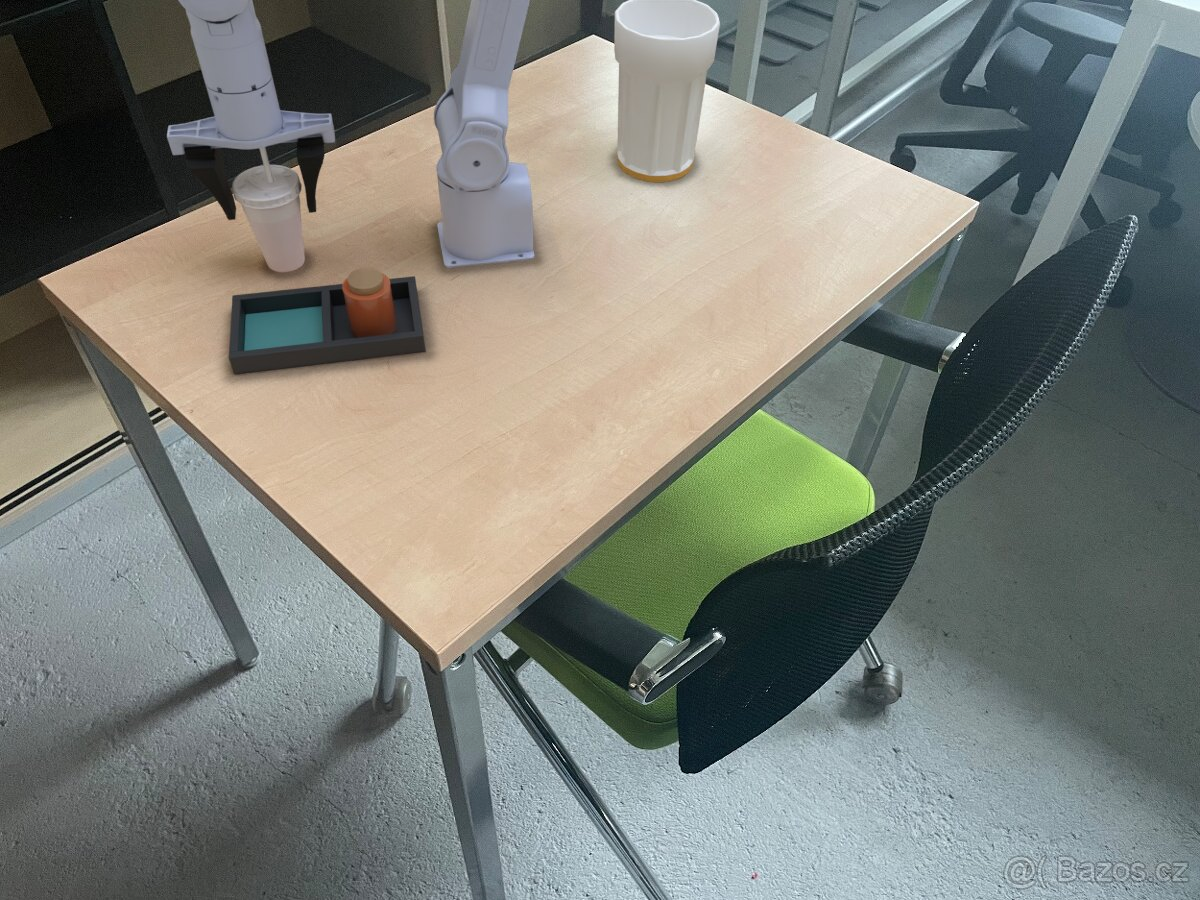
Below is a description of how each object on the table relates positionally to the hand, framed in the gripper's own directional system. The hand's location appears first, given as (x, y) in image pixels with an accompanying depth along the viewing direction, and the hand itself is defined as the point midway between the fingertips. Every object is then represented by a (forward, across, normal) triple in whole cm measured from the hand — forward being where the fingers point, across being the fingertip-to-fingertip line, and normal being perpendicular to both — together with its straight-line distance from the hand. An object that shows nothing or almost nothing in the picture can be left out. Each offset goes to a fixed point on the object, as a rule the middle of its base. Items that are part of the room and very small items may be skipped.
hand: (272, 210), depth 94 cm
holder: (+6, -4, +12) cm, 14 cm away
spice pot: (+6, -8, +12) cm, 16 cm away
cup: (+7, -43, -13) cm, 45 cm away
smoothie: (+7, 0, 0) cm, 7 cm away
